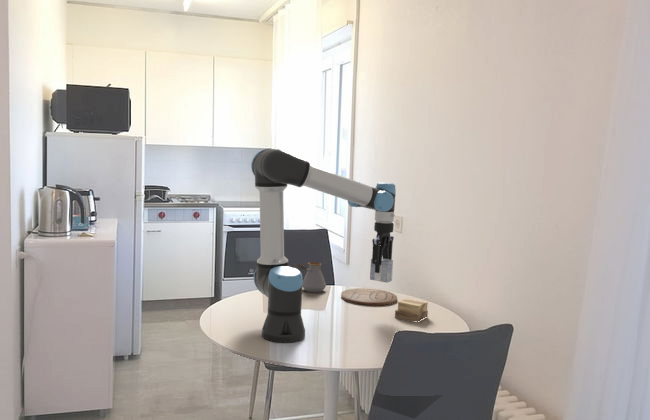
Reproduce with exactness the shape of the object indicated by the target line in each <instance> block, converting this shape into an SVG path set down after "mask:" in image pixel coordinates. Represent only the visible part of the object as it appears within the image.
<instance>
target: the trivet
mask: <svg viewBox="0 0 650 420" xmlns="http://www.w3.org/2000/svg"><path fill="white" fill-rule="evenodd" d="M340 296H341V299H342V301H345V302H346V303H350V304H353V305H359V306H366V307H383V306H384V307H385V306H390V305H394V304H396V303H397V302H396V301H398V296H397V295H396V294H395V293H394V292H390V291H387V290H382V289H378V288H365V287H361V288H359V287H358V288H350V289H345V290H343V291H341V293H340Z"/></svg>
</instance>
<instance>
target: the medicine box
mask: <svg viewBox="0 0 650 420" xmlns="http://www.w3.org/2000/svg"><path fill="white" fill-rule="evenodd" d="M381 265H382V276H381V281H380V282H381V283H382V282H383V283H390V282H392V281H393V268H394V267H393V265H394V260H393V259H392V260H390V259H383V257H382V261H381ZM374 277H375V264H373V263H372V258H371V259H370V274H369V280H370V281H375V280H374Z"/></svg>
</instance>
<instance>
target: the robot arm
mask: <svg viewBox="0 0 650 420" xmlns="http://www.w3.org/2000/svg"><path fill="white" fill-rule="evenodd" d="M250 166H251V167H250V168H251V172H252V174H253V176H254V187H255V188H256V189H257V191H258V193H259V228H260V229H259V230H260V231H259V233H260V234H259V235H260V237H259V238H260V244H259V245H260V256H259V257H258V258H257V260H256V268H255V270H254V272H253V283H254V285H255V287H256V289H257V290H258V291H259V292H260V293H261V294H262V295H264V296H265V297H267V314H266V317H265V320H264V323H263V326H262V328H261V337H262V338H263V339H265V340H267V341H270V342H275V343H282V344H283V343H285V344H286V343H296V342H299V341H302V340H304V339H305V338H306V328H305V324H304V322H303V317H302V300H303V287H302V285H303V280H304V278H303V274H302V272H301V270H299V269H298V268H296V267H291V266H289V259H288V257H286V256H285V231H284V230H285V227H284V226H285V225H284V224H285V223H284V222H285V221H284V220H285V219H284V215H285V213H284V212H285V210H284V191H285V190H286V188H288V185H291V186H293V187H296V188H297V187H298V188H302V187H307V188H309V189H313V190H315V191H318V192H321V193H325V194H328V195H331V196H332V197H333V196H334V197H336V198H340V199H342V200H344V201H347V204H348V205H349V207H352V208H353V207H354V208H365V209H369V210H374V227H373V230H374V232H376V233H377V234H376V236H375V238H373V239H372V240H371V241H372V255H371V256H372V258H371V259H372V263H373V264H375V277H374V280H373V281H377V282H381V276H382V265H381V261H382V258H383V259H390V260H393V258H392V257H393V245H394V244H393V243H394V236H392V235H391V233H393V232H394V223H393V222H394V221H395V206H396V205H395V204H396V189H397V188H396V184H394V183H392V182H377V183H376V187H372V186H370V185H367V184H365V183H361V182H360V181H357V180H355V179H354V180H353V179H351V178H348V177H346V176H343V175H339V174H337V173H335V172H331V171H329V170H325V169H323V168H320V167H318V166H315V165H312V164H311V163H310V161H309V160H307V159H304V158H302V157H300V156H298V155H295V154H293V153H291V152H289V151H286V150H285V149H280V148H278V149H276V148H265V149H262V150H259V151H258V152H257V153H256V154H255V155H254V156H253V158H252V160H251V163H250Z"/></svg>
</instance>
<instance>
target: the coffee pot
mask: <svg viewBox="0 0 650 420" xmlns="http://www.w3.org/2000/svg"><path fill="white" fill-rule="evenodd" d="M295 265H296V266H297V268H298V267H299V268H301V269H303V270H305V271H306V274H305V276H304V278H303V285H302V289H304V290H305V292H308V293H315V294H316V293H320V292H321V293H322V291H323V290H325V288H326V287H327V283H326V281H325V280H326V279H325V278H324V274H323V272H322V269H321V266H322V265H323V264H322V263H321V262H317V261H312V262H311V261H310V262H309V261H308V262H307V265H308V267H306V266H305V265H302V264H300V263H295V264H294V265H293V266H295Z"/></svg>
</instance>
